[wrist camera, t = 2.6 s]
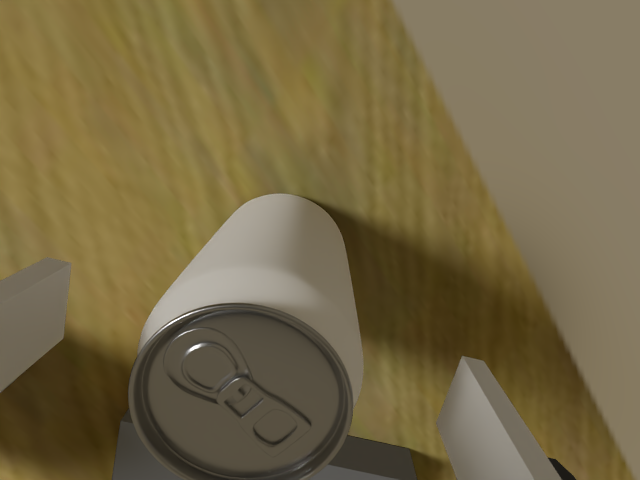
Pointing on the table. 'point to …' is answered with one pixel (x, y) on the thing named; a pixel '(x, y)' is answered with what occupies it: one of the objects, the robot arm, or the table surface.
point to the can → (253, 350)
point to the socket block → (337, 476)
